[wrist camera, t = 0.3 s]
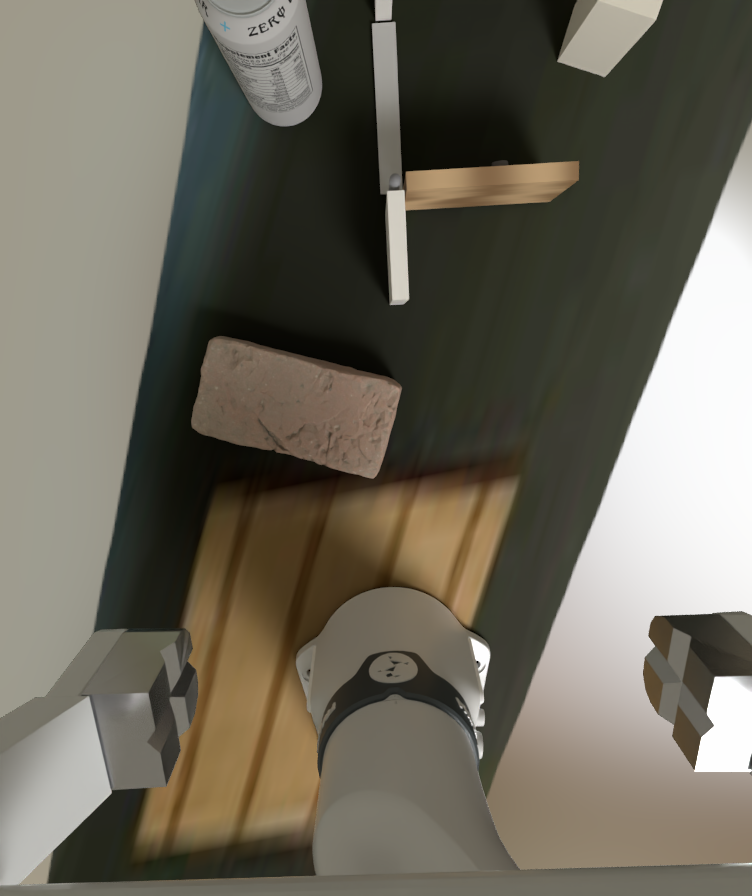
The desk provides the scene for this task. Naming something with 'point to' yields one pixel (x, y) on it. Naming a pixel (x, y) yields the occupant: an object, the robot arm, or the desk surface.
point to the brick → (295, 405)
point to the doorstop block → (605, 32)
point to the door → (488, 185)
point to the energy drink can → (268, 54)
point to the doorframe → (390, 150)
